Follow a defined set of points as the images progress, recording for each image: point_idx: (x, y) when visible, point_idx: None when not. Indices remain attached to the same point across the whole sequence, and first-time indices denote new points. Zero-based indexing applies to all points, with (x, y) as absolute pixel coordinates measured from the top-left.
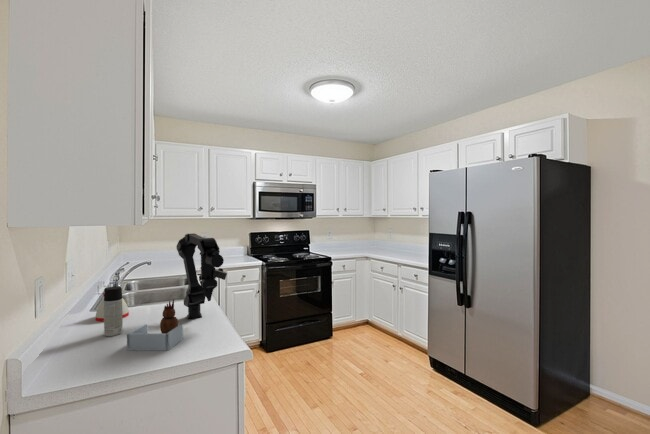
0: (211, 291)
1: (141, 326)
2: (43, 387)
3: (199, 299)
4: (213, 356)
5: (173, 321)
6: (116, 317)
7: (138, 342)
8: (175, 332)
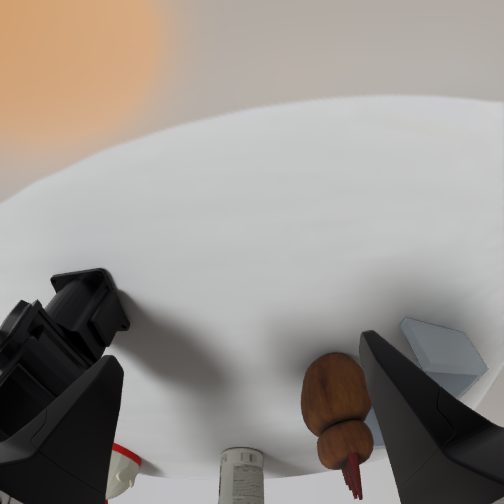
0: (464, 422)
1: None
2: None
3: (66, 359)
4: None
5: (370, 401)
6: (259, 492)
7: None
8: (458, 357)
